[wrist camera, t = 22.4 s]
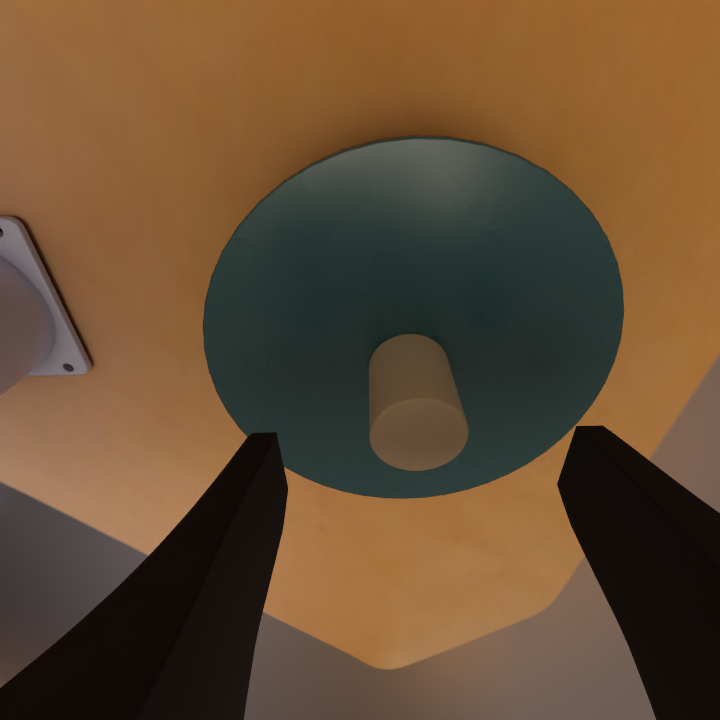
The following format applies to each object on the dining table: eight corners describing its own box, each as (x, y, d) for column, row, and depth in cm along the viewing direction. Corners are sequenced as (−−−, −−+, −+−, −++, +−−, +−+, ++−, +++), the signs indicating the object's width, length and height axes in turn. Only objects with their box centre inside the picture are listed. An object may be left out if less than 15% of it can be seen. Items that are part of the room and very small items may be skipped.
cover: (253, 481, 18) (224, 578, 14) (161, 145, 11) (55, 169, 7) (556, 476, 18) (605, 575, 14) (671, 120, 10) (838, 133, 7)
